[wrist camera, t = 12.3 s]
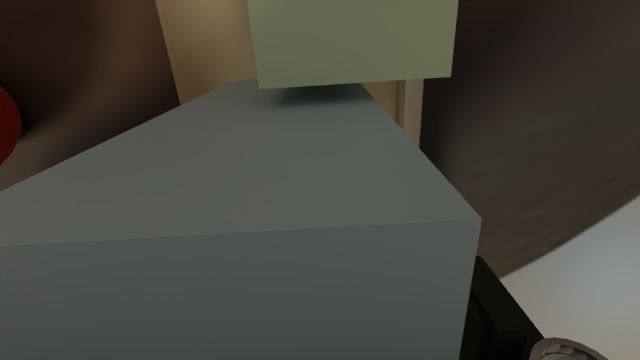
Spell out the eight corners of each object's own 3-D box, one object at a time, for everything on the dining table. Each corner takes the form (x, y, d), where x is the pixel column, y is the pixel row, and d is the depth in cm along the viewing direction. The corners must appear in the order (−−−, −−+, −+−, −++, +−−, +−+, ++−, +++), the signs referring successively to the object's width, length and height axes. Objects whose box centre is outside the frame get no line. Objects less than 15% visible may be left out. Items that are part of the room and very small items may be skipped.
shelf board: (233, 284, 23) (220, 320, 20) (159, -40, 15) (119, -59, 12) (398, 276, 23) (410, 312, 20) (414, -60, 15) (439, -85, 12)
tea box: (232, 80, 16) (-130, 254, 3) (352, 72, 16) (486, 218, 3) (258, 231, 20) (141, 592, 7) (356, 225, 19) (423, 585, 7)
